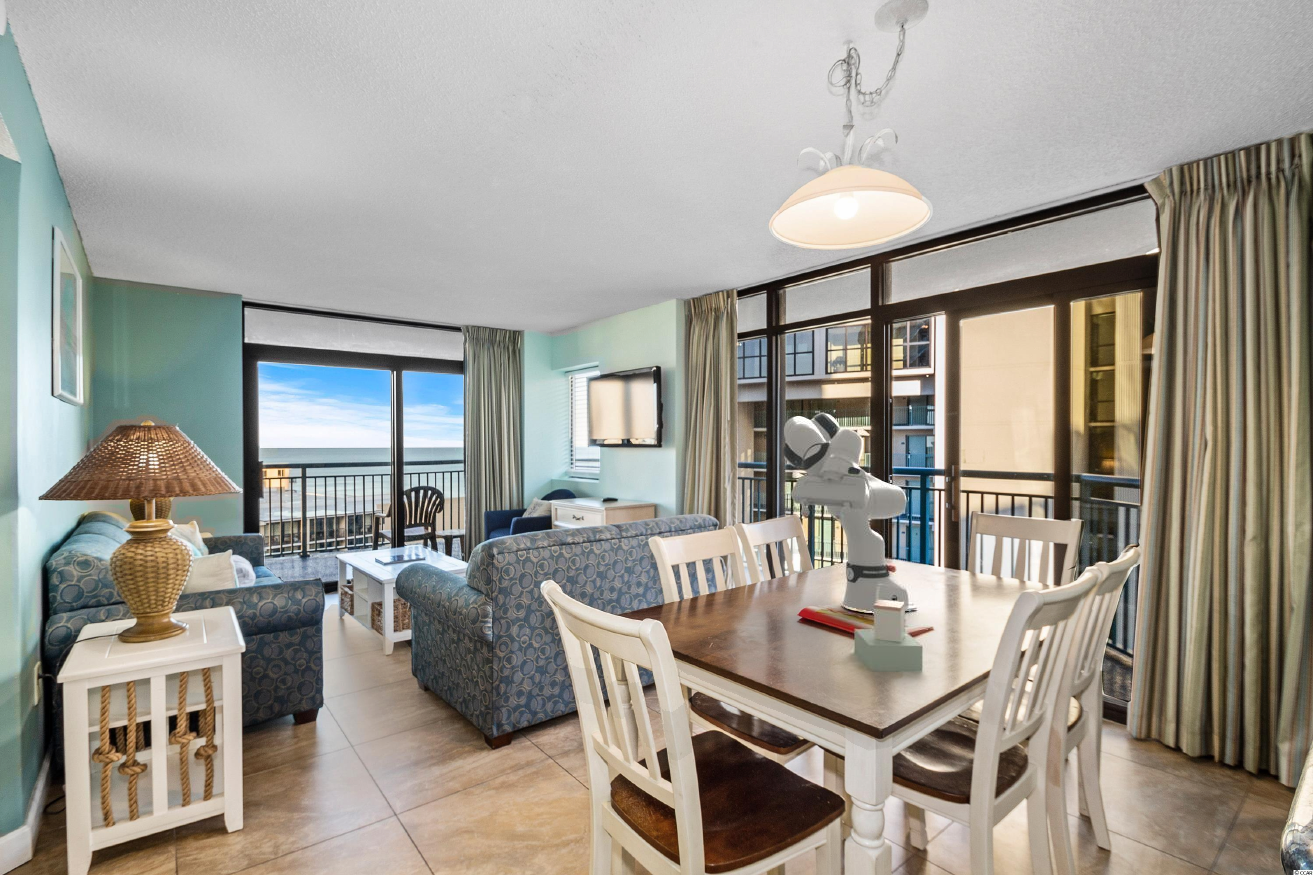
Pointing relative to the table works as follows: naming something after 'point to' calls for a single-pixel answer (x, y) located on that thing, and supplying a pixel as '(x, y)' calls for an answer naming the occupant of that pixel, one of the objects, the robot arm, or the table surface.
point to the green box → (888, 652)
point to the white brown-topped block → (889, 620)
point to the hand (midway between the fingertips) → (821, 516)
